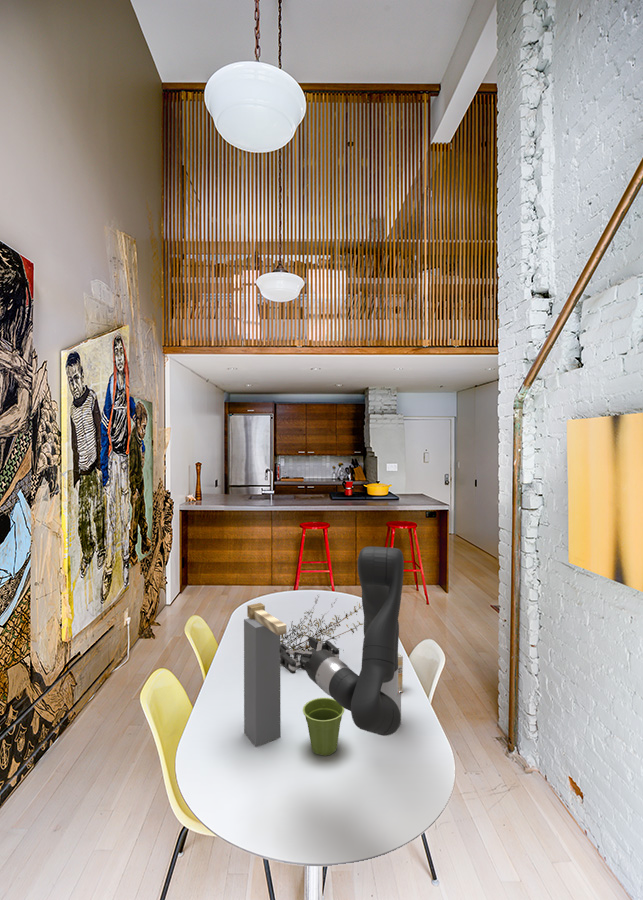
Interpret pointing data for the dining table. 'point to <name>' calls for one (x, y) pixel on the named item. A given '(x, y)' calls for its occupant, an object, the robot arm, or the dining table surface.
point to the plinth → (261, 683)
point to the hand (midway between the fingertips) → (295, 643)
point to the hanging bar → (266, 618)
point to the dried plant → (316, 631)
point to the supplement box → (400, 671)
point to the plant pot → (323, 724)
